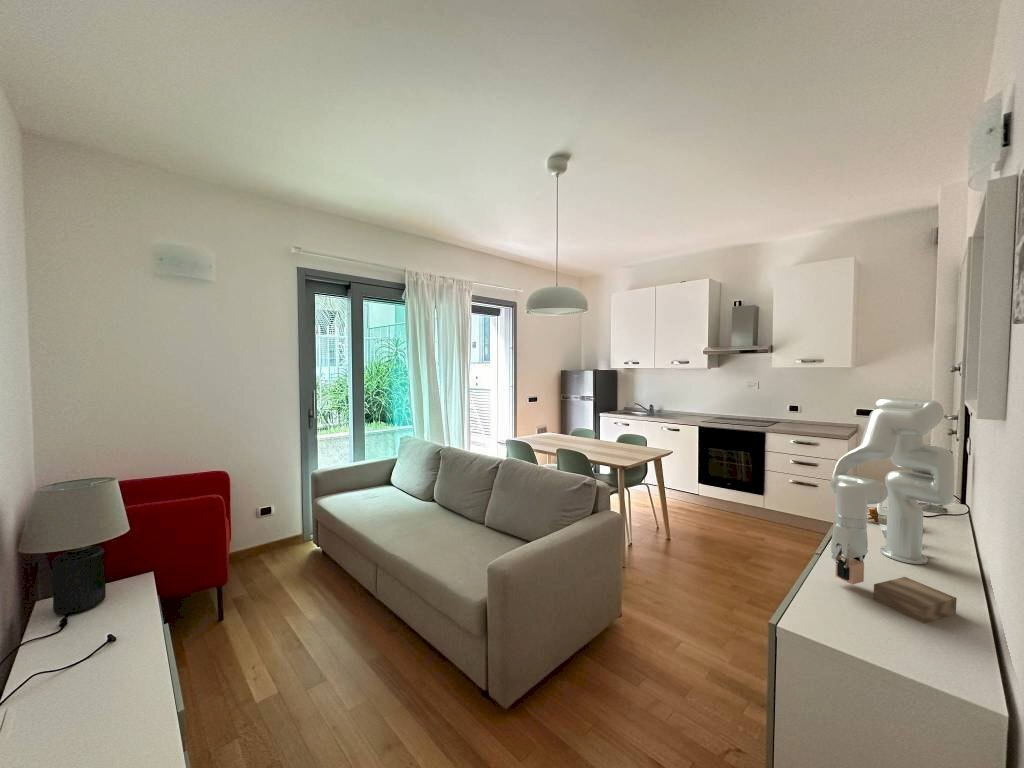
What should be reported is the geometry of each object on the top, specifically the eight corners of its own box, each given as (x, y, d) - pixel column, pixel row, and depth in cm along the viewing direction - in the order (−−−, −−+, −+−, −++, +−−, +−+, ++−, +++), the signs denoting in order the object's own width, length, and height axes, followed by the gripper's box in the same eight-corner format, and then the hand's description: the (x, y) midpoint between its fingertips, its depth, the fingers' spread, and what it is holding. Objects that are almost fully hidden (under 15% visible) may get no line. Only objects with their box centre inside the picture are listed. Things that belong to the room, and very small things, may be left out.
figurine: (909, 543, 159) (910, 506, 158) (876, 537, 165) (878, 501, 164) (906, 537, 165) (907, 501, 164) (875, 531, 171) (876, 496, 170)
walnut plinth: (904, 592, 127) (904, 576, 126) (955, 614, 115) (956, 597, 115) (873, 600, 122) (873, 584, 122) (923, 624, 111) (924, 606, 111)
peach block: (846, 573, 132) (846, 555, 132) (863, 581, 128) (864, 563, 127) (835, 576, 131) (835, 558, 130) (852, 584, 126) (852, 565, 126)
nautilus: (854, 524, 180) (850, 515, 192) (921, 532, 167) (913, 522, 180) (853, 506, 180) (849, 499, 192) (920, 513, 168) (912, 504, 180)
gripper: (856, 512, 134) (855, 566, 135) (819, 520, 129) (818, 575, 130) (883, 521, 127) (881, 577, 128) (844, 529, 122) (843, 587, 123)
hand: (849, 575), depth 129 cm, fingers closed on peach block, 5 cm apart
